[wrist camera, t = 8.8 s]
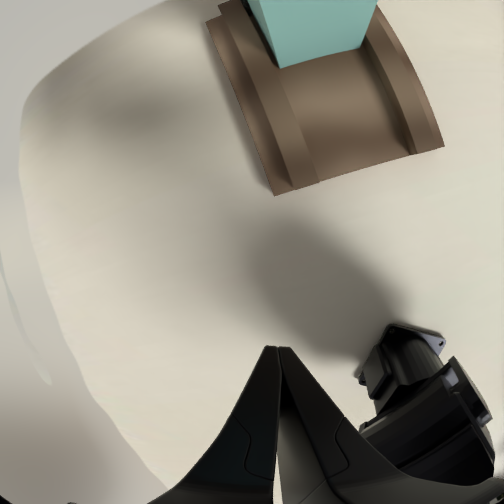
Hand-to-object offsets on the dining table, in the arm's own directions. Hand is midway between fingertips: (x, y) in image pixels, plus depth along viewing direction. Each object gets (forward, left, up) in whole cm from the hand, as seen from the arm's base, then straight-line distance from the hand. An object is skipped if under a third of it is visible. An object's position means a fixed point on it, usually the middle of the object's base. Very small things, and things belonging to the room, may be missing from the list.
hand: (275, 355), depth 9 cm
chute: (+1, -14, -13) cm, 19 cm away
